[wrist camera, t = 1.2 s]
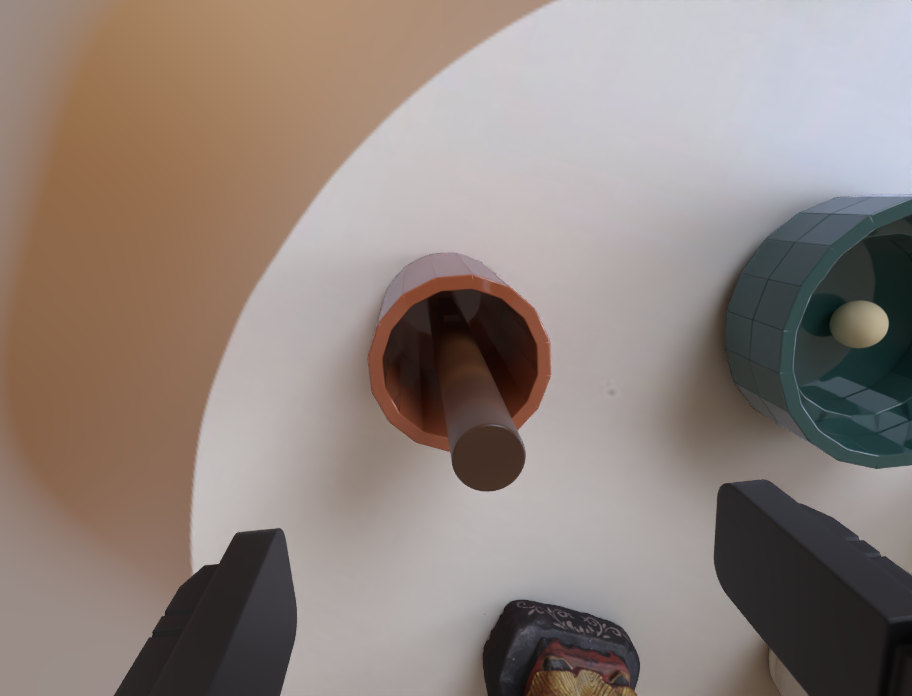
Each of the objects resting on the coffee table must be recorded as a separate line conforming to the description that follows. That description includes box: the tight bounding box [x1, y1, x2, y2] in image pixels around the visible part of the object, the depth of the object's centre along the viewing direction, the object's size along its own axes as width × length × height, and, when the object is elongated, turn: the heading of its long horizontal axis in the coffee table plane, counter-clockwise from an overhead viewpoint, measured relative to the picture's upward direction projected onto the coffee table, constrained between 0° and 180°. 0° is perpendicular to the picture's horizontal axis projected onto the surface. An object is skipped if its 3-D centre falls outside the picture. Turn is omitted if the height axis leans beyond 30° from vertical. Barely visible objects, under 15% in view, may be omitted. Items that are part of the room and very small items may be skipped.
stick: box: [429, 297, 526, 491], centre depth 23 cm, size 3×2×18 cm
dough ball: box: [830, 300, 889, 348], centre depth 32 cm, size 3×3×3 cm
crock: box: [368, 253, 551, 451], centre depth 28 cm, size 8×8×10 cm
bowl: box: [725, 194, 912, 469], centre depth 32 cm, size 15×15×6 cm
